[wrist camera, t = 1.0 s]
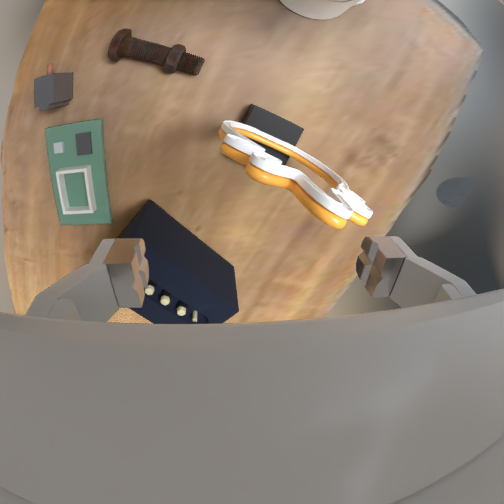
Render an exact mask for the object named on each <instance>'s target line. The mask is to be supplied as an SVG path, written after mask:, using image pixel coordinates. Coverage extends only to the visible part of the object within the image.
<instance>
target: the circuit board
mask: <svg viewBox="0 0 504 504" xmlns="http://www.w3.org/2000/svg"><path fill="white" fill-rule="evenodd" d="M45 130H46V142H47V151H48V159H49V166H50V173H51V179H52V185H53V191H54V196H55V201H56V206H57V211H58V215H59V220H60V224H61V225H81V224H111V223H112V222H113V219H112V213H111V206H110V199H109V192H108V183H107V174H106V164H105V153H104V138H103V118H102V119H95V120H88V121H82V122H76V123H70V124H64V125H59V126H54V127H49V128H46V129H45Z"/></svg>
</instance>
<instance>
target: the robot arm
mask: <svg viewBox="0 0 504 504" xmlns="http://www.w3.org/2000/svg"><path fill="white" fill-rule="evenodd" d="M280 1H281V2H282V3H283V4H284V5H285V6H286V7H287V8H289V9H290V10H292V11H293V12H295V13H297V14H299V15H301V16H304V17H307V18H311V19H319V20H325V19H332V18H335V17H338V16H340V15H342V14H343V13H344V12H345V11H347V10H348V9H349V8H350V7H351V6H356V5H359V4H361V3H363V2H364V1H365V0H280ZM499 1H500V2H502V3H503V4H504V0H499ZM361 248H362V250H363V252H362V253H361V254H360V255H359V256H358V259H357V262H356V271H357V274H358V276H359V278H360V279H361V280H362V281H364V282H365V283H366V284H365V288H366V289H367V291H368V292H369V294H370V296H371V297H372V298H376V297H390V298H391V299H392V300H393V301H395V302H396V303H397V304H398V305H400V306H401V307H402V308H399V309H392V310H384V311H377V312H369V313H361V314H353V315H343V316H333V317H323V318H311V319H299V320H285V321H268V322H249V323H220V324H141V323H113V322H107V321H108V320H109V319H110V318H111V317H112V316H113V315H114V314H115V313H116V312H117V310H118V309H119V308H142V305H143V301H144V297H145V292H144V288H145V287H146V286H147V285H148V280H149V266H148V260H147V259H146V258H145V257H144V253H145V250H146V248H145V243H144V240H143V239H116V238H114V239H103V240H102V241H101V243H100V244H99V246H98V248H97V249H96V251H95V253H94V255H93V256H92V258H91V260H90V262H89V264H84V265H82V266H81V267H79V268H78V269H76V270H74V271H73V272H71V273H70V274H68V275H67V276H65V277H63V278H62V279H60V280H59V281H57V282H56V283H54V284H53V285H51V286H50V287H48V288H47V289H45V290H44V291H42V292H41V293H40V294H38V295H37V296H36V297H35V299H34V300H33V302H32V304H31V306H30V307H29V309H28V311H27V313H26V315H18V314H10V313H3V312H0V504H504V289H500V290H496V291H492V292H487V293H483V294H478V295H477V294H476V293H475V292H474V291H473V290H472V289H471V288H470V286H469V285H468V284H467V283H466V282H465V281H464V280H462V279H461V278H459V277H457V276H455V275H453V274H451V273H449V272H448V271H446V270H444V269H442V268H440V267H438V266H436V265H435V264H433V263H431V262H429V261H427V260H425V259H423V258H421V257H417V256H416V255H415V254H414V252H413V251H412V250H411V249H410V248H408V246H407V245H406V244H405V243H404V242H403V241H402V240H401V239H400V238H399V237H397V236H392V237H391V236H389V237H365V238H364V240H363V241H362V245H361Z"/></svg>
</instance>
